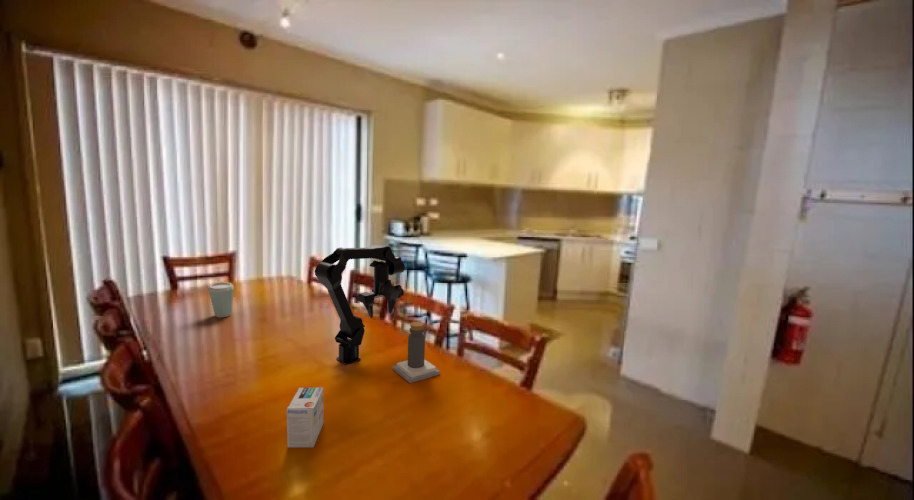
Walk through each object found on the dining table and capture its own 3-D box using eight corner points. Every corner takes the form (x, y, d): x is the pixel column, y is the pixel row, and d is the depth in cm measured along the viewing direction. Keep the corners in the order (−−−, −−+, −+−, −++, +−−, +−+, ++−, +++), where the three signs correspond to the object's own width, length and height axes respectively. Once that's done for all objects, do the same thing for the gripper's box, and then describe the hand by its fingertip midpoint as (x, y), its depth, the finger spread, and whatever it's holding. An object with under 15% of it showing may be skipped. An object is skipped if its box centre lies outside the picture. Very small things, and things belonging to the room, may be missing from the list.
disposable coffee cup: (240, 315, 196) (238, 284, 194) (217, 321, 187) (215, 288, 185) (227, 310, 202) (226, 280, 199) (204, 316, 193) (202, 284, 190)
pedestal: (410, 383, 139) (410, 376, 138) (392, 369, 148) (392, 362, 148) (439, 374, 146) (440, 367, 145) (421, 361, 155) (421, 355, 155)
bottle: (421, 369, 143) (422, 327, 141) (405, 367, 145) (406, 325, 142) (426, 362, 149) (427, 322, 147) (410, 360, 150) (411, 320, 148)
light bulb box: (299, 423, 114) (298, 386, 112) (324, 423, 114) (323, 386, 113) (286, 448, 103) (285, 408, 102) (314, 448, 104) (313, 408, 102)
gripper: (373, 284, 150) (373, 326, 153) (413, 277, 164) (412, 315, 166) (356, 278, 158) (356, 318, 160) (395, 272, 171) (394, 309, 174)
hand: (380, 315), depth 165 cm, fingers open, 9 cm apart
